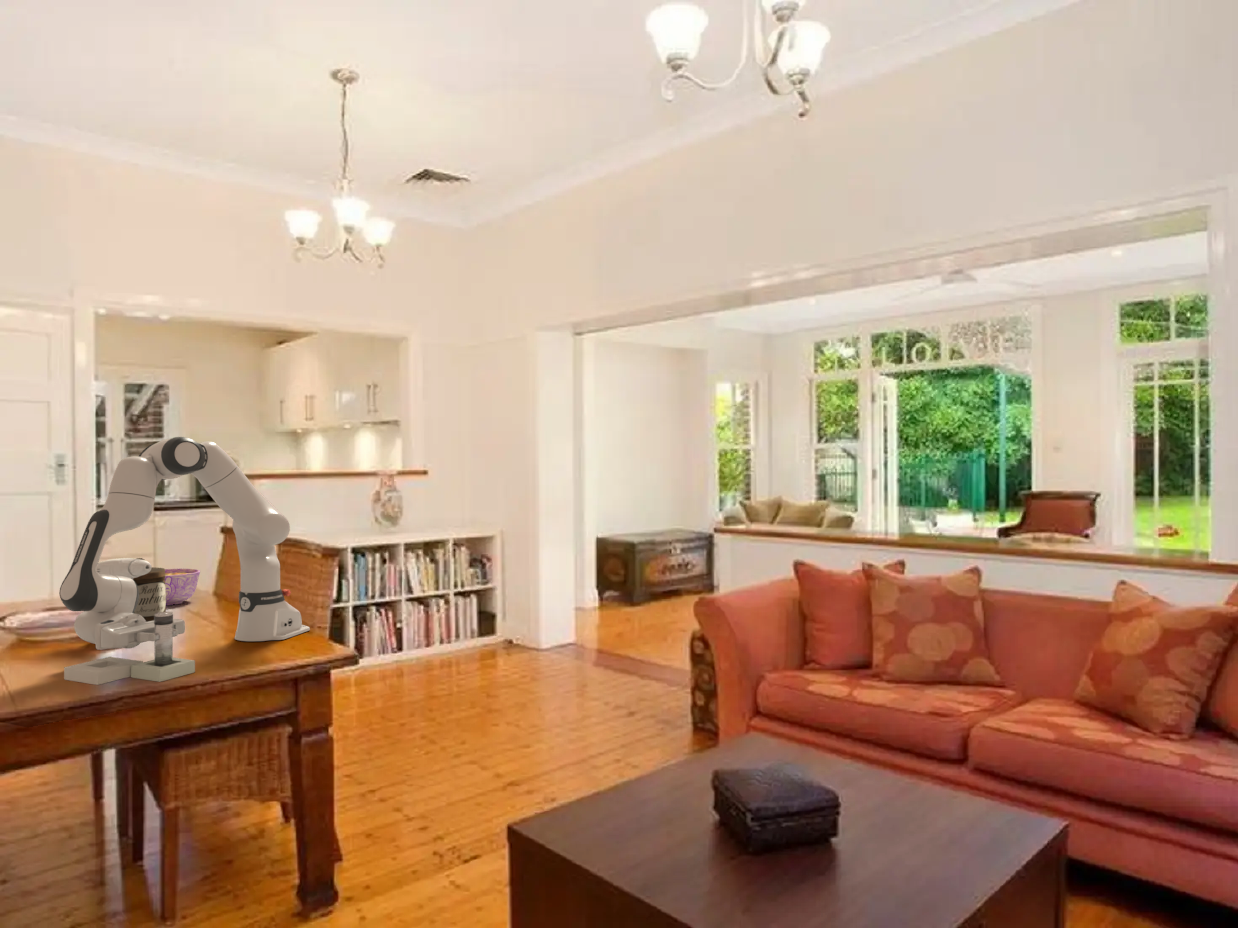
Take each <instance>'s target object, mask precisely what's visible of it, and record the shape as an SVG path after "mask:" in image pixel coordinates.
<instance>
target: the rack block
mask: <svg viewBox="0 0 1238 928" xmlns="http://www.w3.org/2000/svg"><path fill="white" fill-rule="evenodd" d="M195 672H196V660H194V659H188V658H187V659H186V658H178V657H173V664H170V665H167V666H163V667H159V666H154V659H152V660H147V661H143V663H139V664H135V665H131V676H130V677H131V678H132V679H138V680H139V679H140V680H146V681H152V682H159V683H161V682H164V681H168V680H172V679H175V678H178V677H183V676H186V675H190V674H193V673H195Z"/></svg>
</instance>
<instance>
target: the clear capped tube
mask: <svg viewBox="0 0 1238 928" xmlns="http://www.w3.org/2000/svg"><path fill="white" fill-rule="evenodd" d="M173 613H174V612H173V611H166V612H159V613H155V615H154V624H155V628H154V633H159V640H157V641H153V642H154V646H153V647H154V655H153V656H154V659H153V660H154V666H159V667H163V666H167V665H170V664H173V658H174V657H173V655H174V654H173V651H174V650H173V643H174V642H173V641H174V640H173V638H174V637H173V619H174V614H173Z"/></svg>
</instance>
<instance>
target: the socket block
mask: <svg viewBox="0 0 1238 928" xmlns="http://www.w3.org/2000/svg"><path fill="white" fill-rule="evenodd" d="M143 662H144V661H143V660H136V659H129V658H121V657H115V656H108V657H104V658H99V659H95V660H91V661H85V662H80V663H77V664H72V665H69V666H65V667H64V668H63V670H64V671H63V678H64V679H63V680H65V681H71V682H79V683H82V684H83V683H84V684H90V685H96V686H99V685H103V684H106V683H107V684H108V683H111V682H114V681H118V680H123V679H126V678H130V677H131V665H135V664H139V663H143Z"/></svg>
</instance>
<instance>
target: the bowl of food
mask: <svg viewBox="0 0 1238 928" xmlns="http://www.w3.org/2000/svg"><path fill="white" fill-rule="evenodd" d="M164 569H165V593H166V606H172V605H173V604H175V605H180V604H183V602H185V601H186V600H188V599H190V598H192V596H193V595H194V594H195V592H196V590H197V585H198V581H199V577H200V573H201V570H200V569H196V568H164ZM173 606H174V605H173Z"/></svg>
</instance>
